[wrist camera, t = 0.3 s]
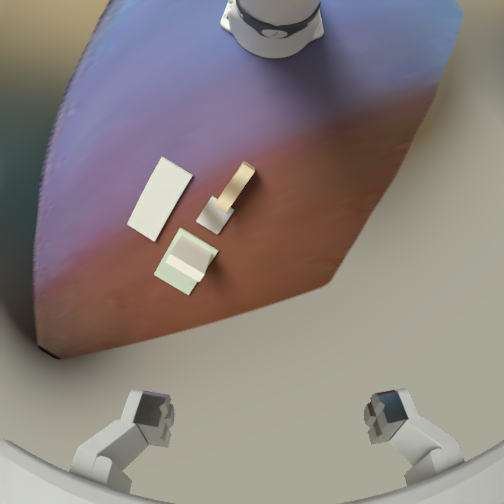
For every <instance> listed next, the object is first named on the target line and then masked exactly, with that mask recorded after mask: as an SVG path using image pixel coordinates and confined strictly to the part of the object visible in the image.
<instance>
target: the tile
mask: <svg viewBox="0 0 504 504" xmlns="http://www.w3.org/2000/svg"><path fill="white" fill-rule="evenodd" d="M211 253H212V252H210V251H208V250H207V249H205V248H203V247H202V246H200V245H199V244H197V243H195V242H194V241H192V240H190V239H189V238H187V237H185V236H184V235H181V237H180V239H179V240H178V242H177V243H176V245H175V247H174V248H173V250H172V252H171V253H170V255H169V257H168V258H167V260H166V263H167V264H169V265H171V266H172V267H174V268H176V269H177V270H179V271H181V272H182V273H184V274H186V275H188V276H189V277H191V278H193V279H194V280H196V281H198V282H200V281H201V279H202V278H203V276H204V275H205V272H206V269H207V265H208V262H209V259H210V256H211Z"/></svg>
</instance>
